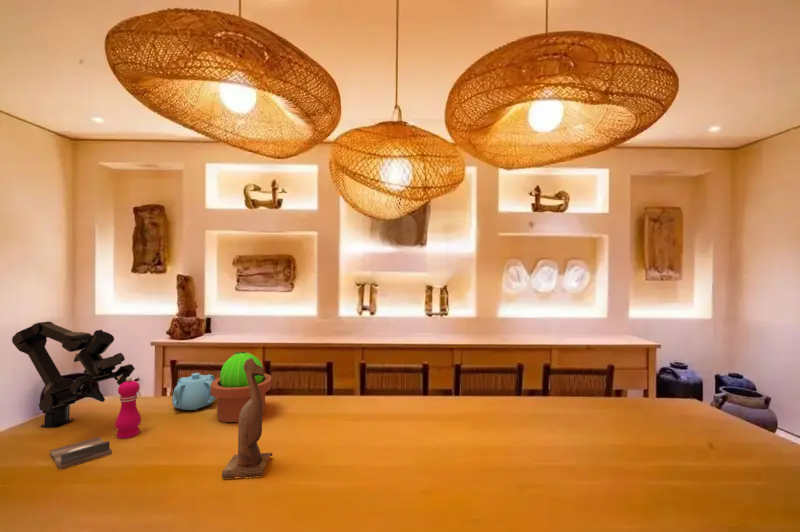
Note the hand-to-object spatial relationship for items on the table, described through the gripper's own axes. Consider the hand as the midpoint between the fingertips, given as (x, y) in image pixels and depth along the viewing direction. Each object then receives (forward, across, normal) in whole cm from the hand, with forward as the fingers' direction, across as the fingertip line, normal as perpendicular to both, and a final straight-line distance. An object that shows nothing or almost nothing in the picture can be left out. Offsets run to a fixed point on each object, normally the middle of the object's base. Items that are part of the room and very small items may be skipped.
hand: (117, 396), depth 128 cm
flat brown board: (+12, -14, +6) cm, 19 cm away
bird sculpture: (+51, -7, -32) cm, 60 cm away
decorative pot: (+14, +28, +5) cm, 32 cm away
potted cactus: (+31, +26, -12) cm, 42 cm away
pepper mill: (+13, 0, +6) cm, 14 cm away
